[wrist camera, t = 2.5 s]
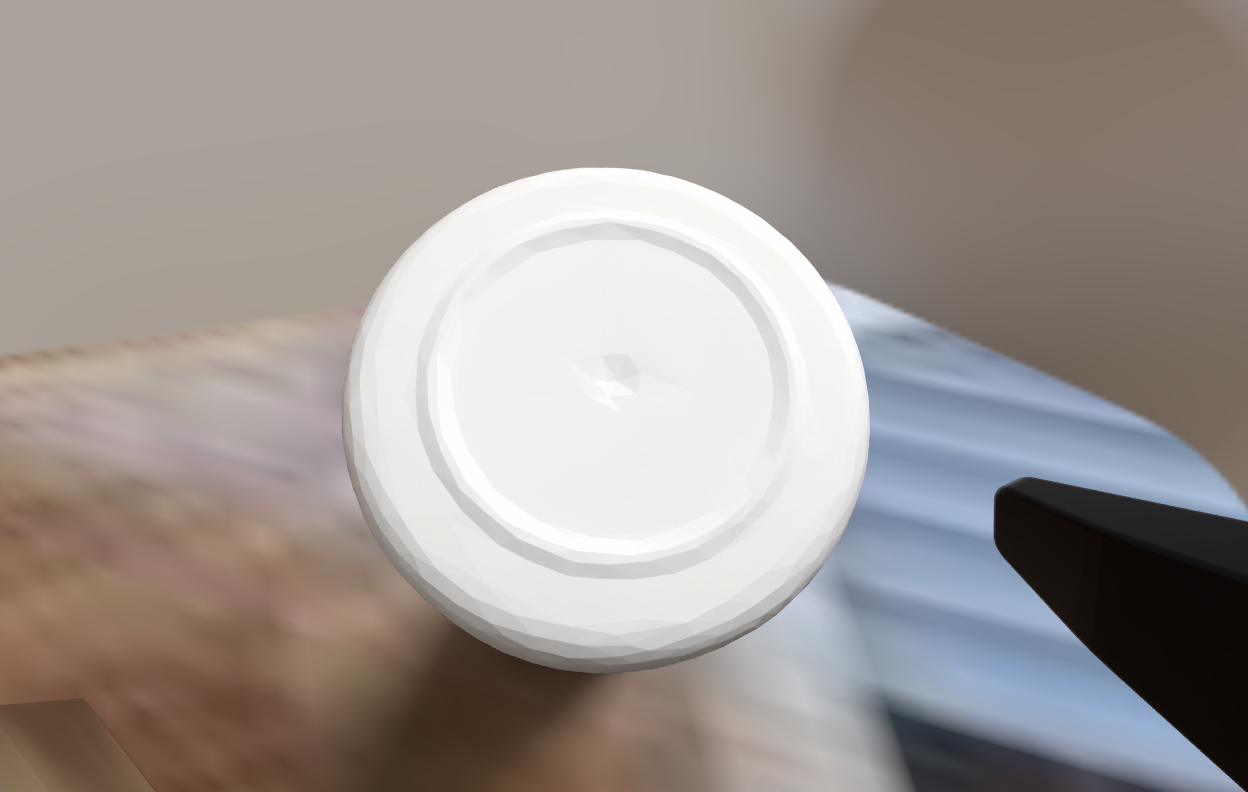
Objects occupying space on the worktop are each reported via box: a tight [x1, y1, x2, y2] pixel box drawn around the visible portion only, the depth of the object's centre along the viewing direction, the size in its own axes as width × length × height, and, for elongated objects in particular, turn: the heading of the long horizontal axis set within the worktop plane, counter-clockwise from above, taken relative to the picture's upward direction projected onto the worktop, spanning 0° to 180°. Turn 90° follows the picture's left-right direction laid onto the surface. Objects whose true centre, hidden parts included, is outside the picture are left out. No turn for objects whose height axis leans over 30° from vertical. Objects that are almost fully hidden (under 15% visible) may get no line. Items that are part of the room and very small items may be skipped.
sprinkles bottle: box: [342, 168, 870, 673], centre depth 12 cm, size 5×5×14 cm
